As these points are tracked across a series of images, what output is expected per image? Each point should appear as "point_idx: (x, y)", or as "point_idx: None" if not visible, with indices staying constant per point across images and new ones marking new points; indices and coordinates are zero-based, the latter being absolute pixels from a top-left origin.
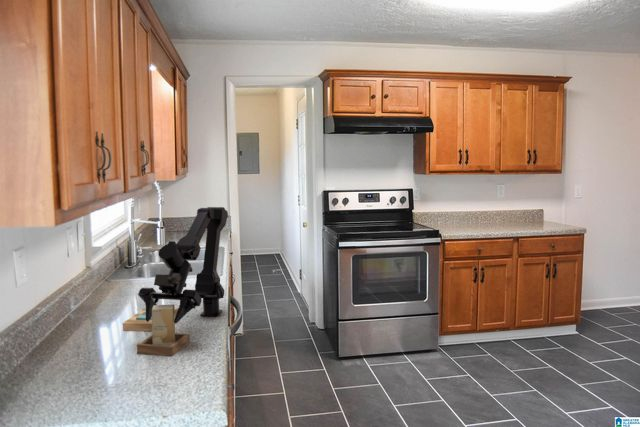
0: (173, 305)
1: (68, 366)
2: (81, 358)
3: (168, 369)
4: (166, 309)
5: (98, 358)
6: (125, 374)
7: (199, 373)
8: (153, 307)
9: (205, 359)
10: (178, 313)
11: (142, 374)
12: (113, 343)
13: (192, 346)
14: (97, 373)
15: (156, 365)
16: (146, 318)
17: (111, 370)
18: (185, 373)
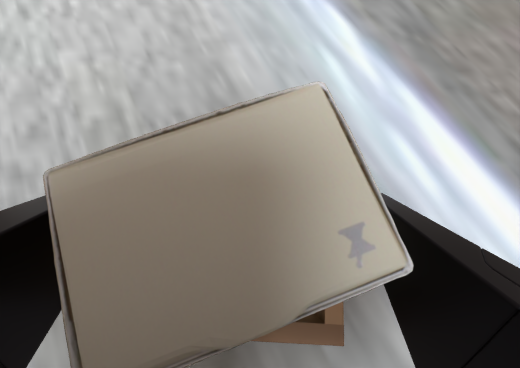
0: (78, 336)
1: (487, 37)
2: (501, 96)
3: (141, 45)
4: (136, 142)
5: (442, 102)
6: (266, 3)
7: (24, 28)
8: (343, 149)
9: (25, 134)
10: (28, 204)
11: (212, 7)
12: (505, 256)
13: None
14: (357, 2)
15: (197, 69)
16: (384, 197)
17: (328, 23)
18: (72, 24)
